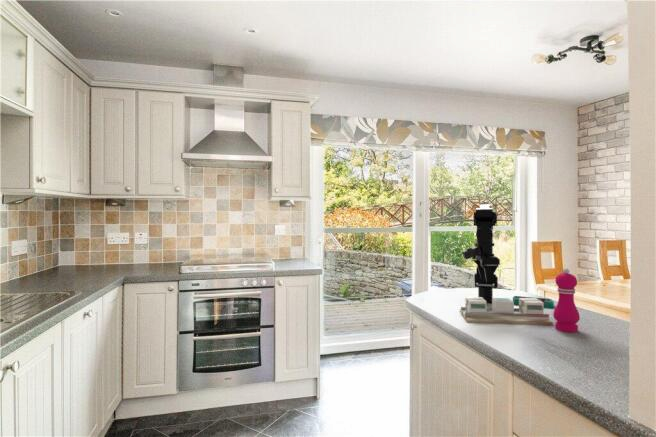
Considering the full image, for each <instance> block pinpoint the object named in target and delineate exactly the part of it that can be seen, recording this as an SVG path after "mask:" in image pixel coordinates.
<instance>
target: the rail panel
mask: <svg viewBox="0 0 656 437" xmlns="http://www.w3.org/2000/svg"><path fill="white" fill-rule="evenodd" d="M537 298H538V297H532V298H519V305H518V307H514V313H494V312H493V311H492V307H487V304H488V303H486V300H484V299H483V298H482V297H478V296H465V300H464V301H465V306H460V308H459V313H460V314H461V316H462V317H463V319H464V320H465V321H466V322H467V323H481V324H482V323H483V324H486V323H487V324H488V323H491V324H515V325H516V324H517V325H518V324H520V325H521V324H523V325H524V324H526V325H554V321H553V320H551V319H550V314H548V313H544V311H545V310H544V309H545V307H544V303H543V302H542V301H540V300H538V299H537Z"/></svg>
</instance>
